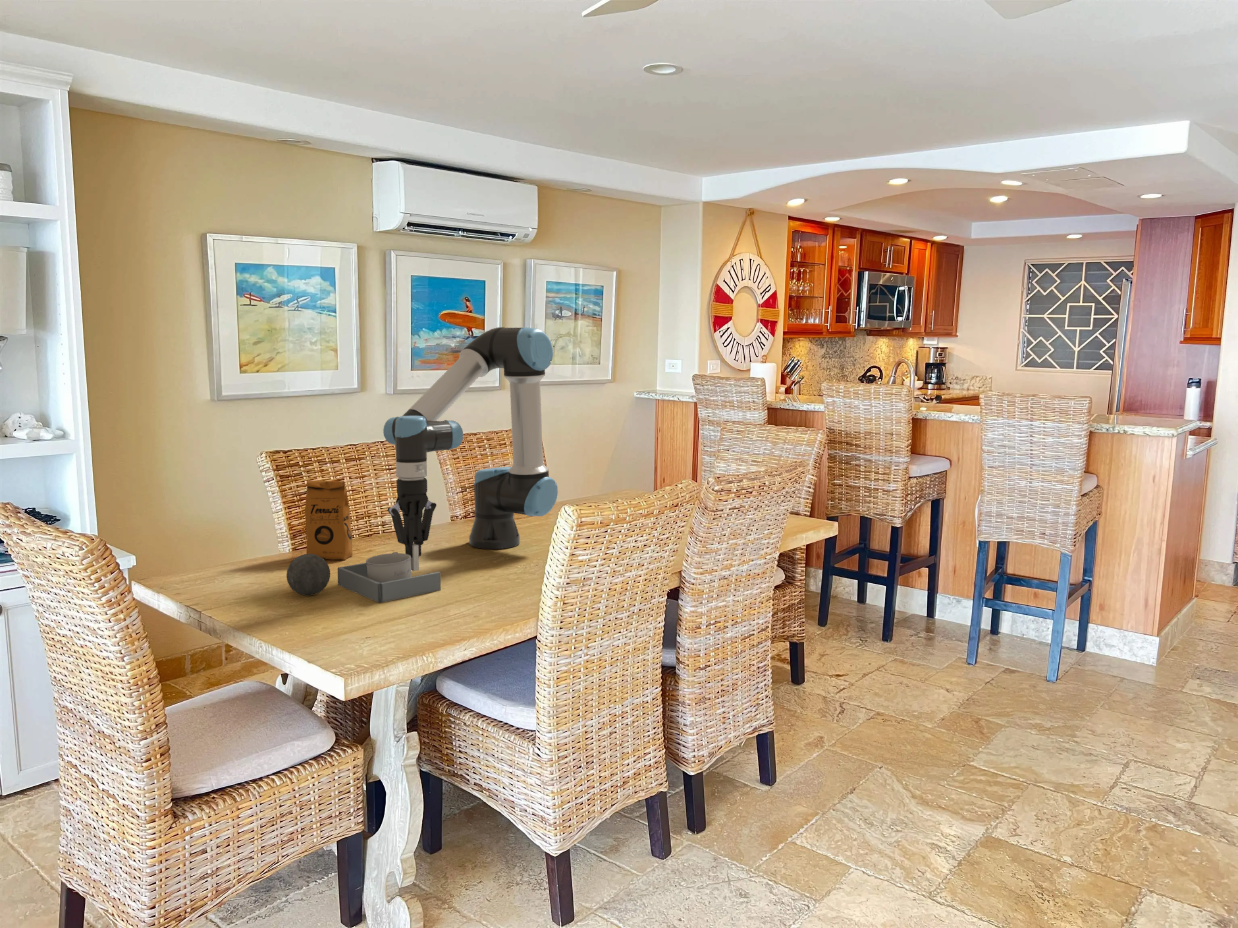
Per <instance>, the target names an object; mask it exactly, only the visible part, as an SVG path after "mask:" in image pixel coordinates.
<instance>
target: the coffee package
mask: <svg viewBox="0 0 1238 928" xmlns="http://www.w3.org/2000/svg"><path fill="white" fill-rule="evenodd" d="M304 505H305V506H304V517H305V522H304V523H305V532H306V533H305V536H306V554H315V555H318V556H320V557H321V558H323V559H324V560H333V561H335V560H336V561H337V560H342V561H346V560H347V559H349V558H350V557H352V556H353V554H354V553H353V531H352V525H351V524H352V523H351V510H350V509H351V508H350V505H349V498H348V490H347V487H346V482H345V481H344V480H314V479H313V480H310V479H309V480H306V494H305V504H304Z"/></svg>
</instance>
